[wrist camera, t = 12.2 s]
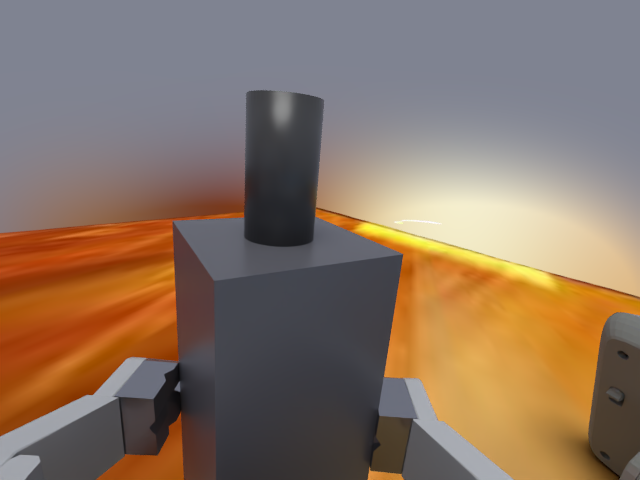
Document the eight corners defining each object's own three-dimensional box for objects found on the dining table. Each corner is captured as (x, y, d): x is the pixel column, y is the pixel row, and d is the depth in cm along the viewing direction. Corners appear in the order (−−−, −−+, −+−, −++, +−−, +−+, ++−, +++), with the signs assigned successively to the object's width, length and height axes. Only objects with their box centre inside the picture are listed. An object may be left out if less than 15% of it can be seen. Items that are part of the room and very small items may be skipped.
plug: (218, 720, 8) (211, 62, 4) (187, 553, 12) (166, 91, 7) (345, 613, 10) (426, 104, 6) (289, 498, 14) (317, 113, 9)
